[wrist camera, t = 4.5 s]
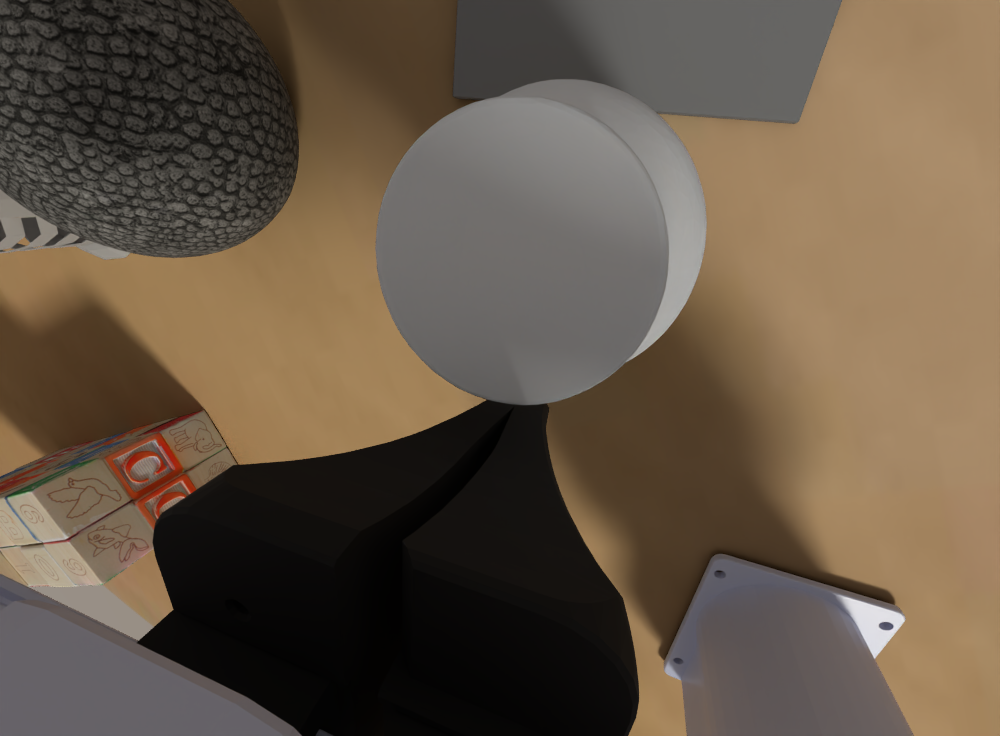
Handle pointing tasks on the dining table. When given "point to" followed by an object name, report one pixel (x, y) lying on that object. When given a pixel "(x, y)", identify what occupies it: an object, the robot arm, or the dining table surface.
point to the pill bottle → (540, 239)
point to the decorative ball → (144, 122)
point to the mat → (651, 51)
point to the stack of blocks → (102, 500)
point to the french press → (41, 232)
